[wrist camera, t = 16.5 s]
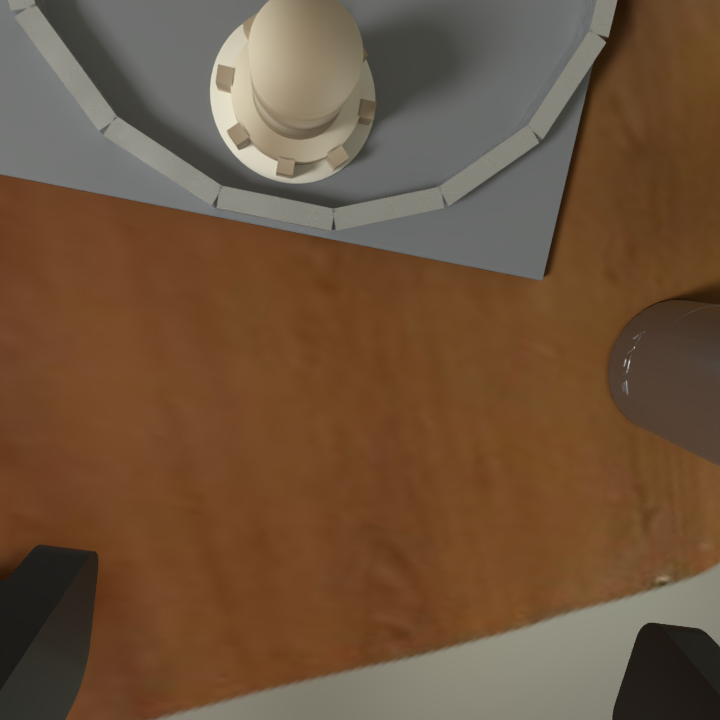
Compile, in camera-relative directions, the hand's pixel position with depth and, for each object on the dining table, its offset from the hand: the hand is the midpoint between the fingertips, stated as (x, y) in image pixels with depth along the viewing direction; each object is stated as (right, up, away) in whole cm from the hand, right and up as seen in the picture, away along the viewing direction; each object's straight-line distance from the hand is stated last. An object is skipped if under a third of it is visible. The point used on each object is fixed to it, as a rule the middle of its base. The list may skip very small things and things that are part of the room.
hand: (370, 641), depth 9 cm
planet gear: (-4, +19, +26) cm, 32 cm away
